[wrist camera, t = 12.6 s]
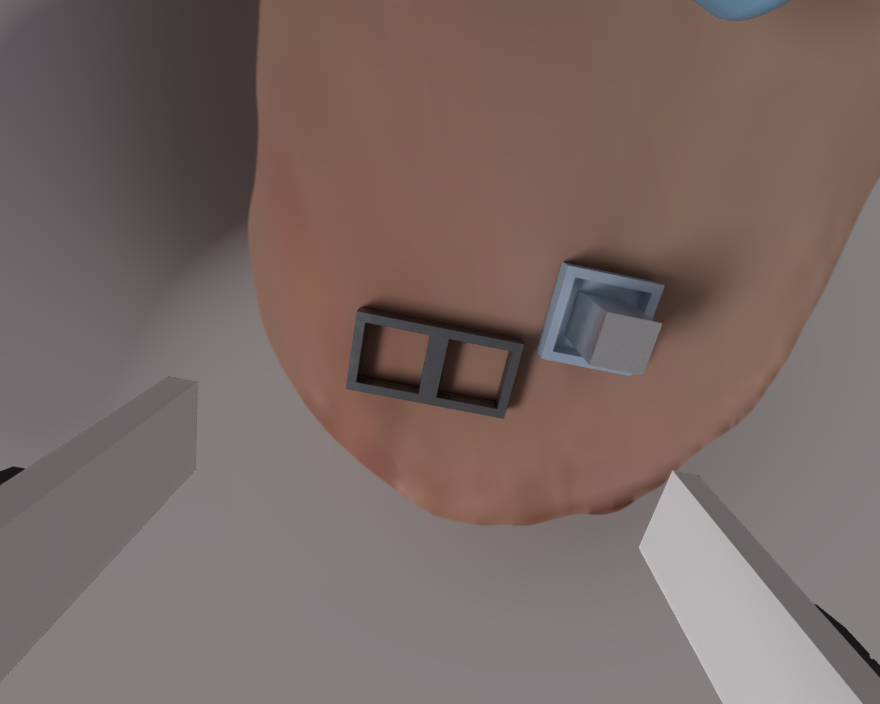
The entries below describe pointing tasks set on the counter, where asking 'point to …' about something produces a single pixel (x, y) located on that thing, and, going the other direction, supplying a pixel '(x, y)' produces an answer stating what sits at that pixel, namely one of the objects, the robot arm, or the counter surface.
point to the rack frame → (433, 363)
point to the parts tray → (594, 282)
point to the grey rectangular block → (612, 333)
